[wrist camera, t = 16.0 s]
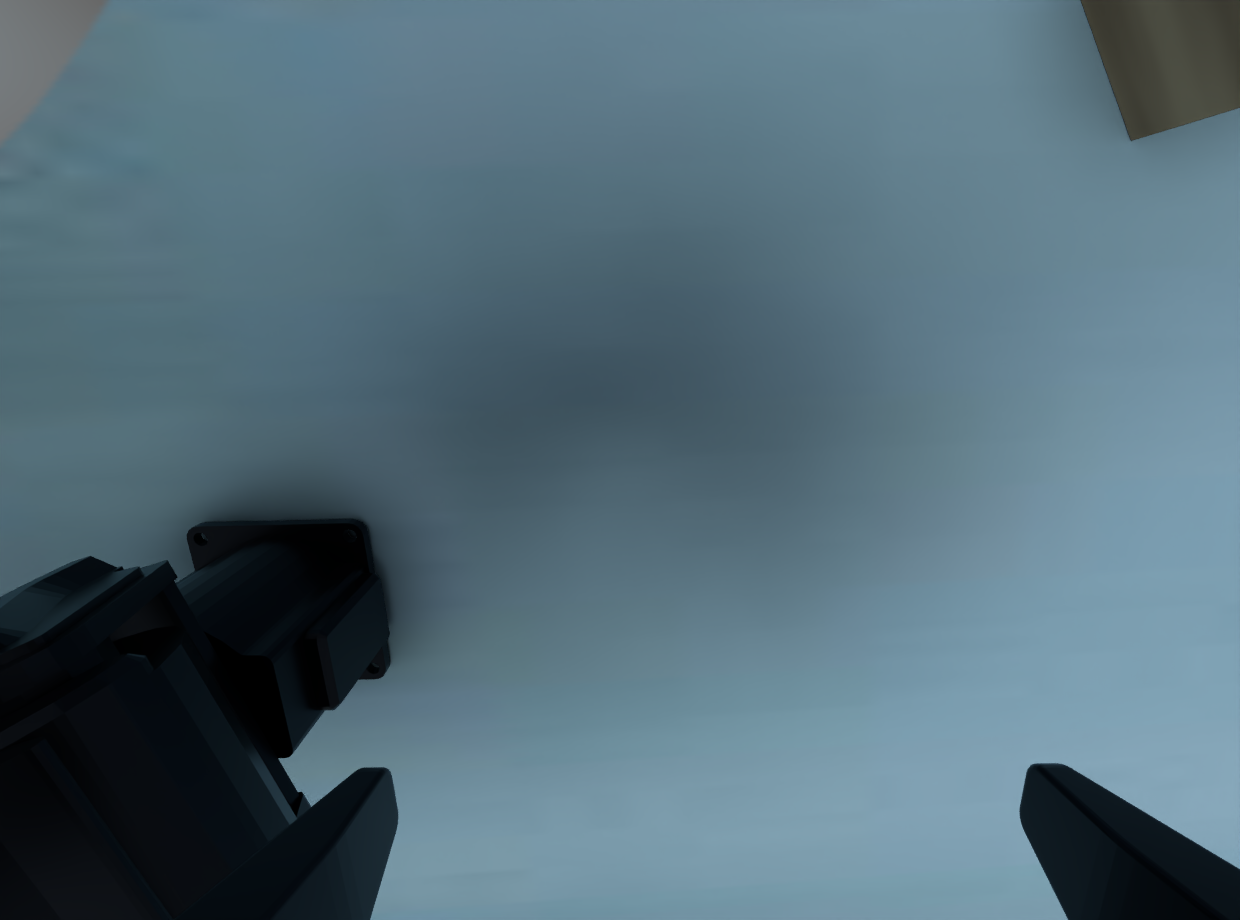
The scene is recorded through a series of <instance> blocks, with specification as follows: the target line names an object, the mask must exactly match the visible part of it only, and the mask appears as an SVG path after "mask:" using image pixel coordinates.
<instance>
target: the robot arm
mask: <svg viewBox="0 0 1240 920" xmlns="http://www.w3.org/2000/svg"><path fill="white" fill-rule="evenodd" d="M348 529H349V530H353V531H354V532H355V533H356V535H357V538H352V537H351V536H350V535H349V533H348ZM201 534H204V535H205V536H206V537H207V539H208V540H207V541H206V540H205V539H203V537H202V535H201ZM187 541H188V545H189V549H190V553H191V557H192V560H193V564H194V568H195V571H194V572H193V573H191V574H190V575H188V576H186V577H185V578H183V579H182V580H180V581H179V582H177V583H175V582H174V580H175V579H176V578H177V576H176V574H175V572H174V570H173V569H172V567H171V565H170V564H169V562H168V560H166V561H162V562H159V563H156V564H152V565H149V566H146V567H143V568H140V567H134V568H129V569H125V570H124V569H123V567H122V566H121V567H118V568H117V567H115V566H113V565H110V564H108V563H106V562H103V561H101V560H99V559H96V558H94V557H92V556H89V557H86V558H83V559H80V560H77V561H74V562H71V563H69V564H66V565H64V566H62V567H60V568H58V569H56V570H54V571H52V572H50V573H48V574H46V575H43V576H41V577H39V578H37V579H35V580H33V581H31V582H29V583H27V584H25V585H23V586H21V587H19V588H17V589H15V590H13V591H11V592H9V593H7V594H5V595H3V596H2V597H0V920H370V918H371V915H372V911H373V908H374V905H375V901H376V898H377V894H378V891H379V888H380V884H381V881H382V878H383V874H384V871H385V867H386V864H387V861H388V857H389V854H390V850H391V847H392V844H393V840H394V837H395V834H396V830H397V825H398V808H397V802H396V797H395V791H394V785H393V780H392V775H391V772H390V771H389V769H387V768H384V767H374V768H360V769H358V770H357V771H355V772H354V773H353V774H351V775H350V776H349V777H348V778H346V779H345V780H344V781H343V782H342V783H340V784H339V785H338V786H337V787H335V788H334V789H333V790H332V791H331V792H329V793H328V794H327V795H326V796H324V797H323V798H322V799H321V800H320V801H318V802H317V803H316V804H315V805H313V806H312V807H311V806H310V804H309V802H308V801H307V799H306V797H305V795H304V794H303V793H302V792H297V790H296V788H295V787H294V785H293V783H292V782H291V780H290V778H289V776H288V775H287V773H286V771H285V770H284V768H283V766H282V765H281V763H280V761H279V759H278V758H287V757H290V756H291V755H292V754H293V752H294V751H295V750H296V748H297V747H298V746H299V744H300V743H301V742H302V740H303V739H304V738H305V736H306V735H307V734H308V732H309V731H310V730H311V728H312V727H313V726H314V724H315V723H316V722H317V720H318V719H319V718H320V716H321V715H322V714H323V712H324V711H325V710H335V709H336V708H337V707H338V706H339V705H340V704H341V703H342V701H343V700H344V699H345V697H346V696H347V694H348V693H349V692H350V690H351V689H352V687H353V686H354V685H355V683H356V682H357V680H360V679H379V678H381V677H383V676H384V674H385V673H386V671H387V670H388V668H389V666H390V659H389V653H388V647H387V641H386V640H387V639H388V637H389V635H390V633H389V627H388V621H387V615H386V609H385V603H384V597H383V590H382V584H381V579H380V578H379V576H378V575H377V574H376V573H375V569H374V563H373V557H372V551H371V545H370V539H369V533H368V529H367V527H366V526H365V524H364V523H363V522H361V521H359V520H356V519H328V520H285V521H243V522H205V523H200V524H198V525H197V526H195V527H193V528H191V529H190V530H189V531H188V533H187ZM371 662H373V663H376V664H377V665H378V666H379V668H378V667H375V666H373V665H372V663H371ZM1020 819H1021V824H1022V827H1023V829H1024V831H1025V834H1026V836H1027V838H1028V840H1029V842H1030V844H1031V846H1032V848H1033V850H1034V852H1035V854H1036V856H1037V858H1038V860H1039V862H1040V864H1041V866H1042V868H1043V870H1044V872H1045V874H1046V876H1047V878H1048V880H1049V882H1050V884H1051V886H1052V888H1053V890H1054V892H1055V894H1056V896H1057V898H1058V900H1059V902H1060V904H1061V906H1062V908H1063V910H1064V912H1065V914H1066V916H1067V918H1068V920H1240V869H1238V868H1237V867H1235V866H1233V865H1232V864H1230V863H1228V862H1227V861H1225V860H1223V859H1222V858H1220V857H1218V856H1217V855H1215V854H1213V853H1212V852H1210V851H1208V850H1207V849H1205V848H1203V847H1202V846H1200V845H1198V844H1197V843H1195V842H1193V841H1192V840H1190V839H1188V838H1187V837H1185V836H1183V835H1182V834H1180V833H1178V832H1177V831H1175V830H1173V829H1172V828H1170V827H1168V826H1167V825H1165V824H1163V823H1162V822H1160V821H1158V820H1157V819H1155V818H1153V817H1152V816H1150V815H1148V814H1147V813H1145V812H1143V811H1142V810H1140V809H1138V808H1137V807H1135V806H1133V805H1132V804H1130V803H1128V802H1127V801H1125V800H1123V799H1122V798H1120V797H1118V796H1117V795H1115V794H1113V793H1112V792H1110V791H1108V790H1107V789H1105V788H1103V787H1102V786H1100V785H1098V784H1097V783H1095V782H1093V781H1092V780H1090V779H1088V778H1087V777H1085V776H1083V775H1082V774H1080V773H1078V772H1077V771H1075V770H1073V769H1072V768H1070V767H1068V766H1066V765H1063V764H1058V763H1037V764H1032V765H1031V766H1030V767H1029V768H1028V770H1027V773H1026V778H1025V783H1024V788H1023V794H1022V799H1021V804H1020Z"/></svg>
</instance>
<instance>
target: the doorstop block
mask: <svg viewBox="0 0 1240 920" xmlns="http://www.w3.org/2000/svg"><path fill="white" fill-rule="evenodd" d="M1081 2H1082V5H1083V8H1084V10H1085V13H1086V16H1087V19H1088V22H1089V24H1090V27H1091V30H1092V33H1093V36H1094V38H1095V41H1096V44H1097V47H1098V50H1099V52H1100V55H1101V58H1102V61H1103V64H1104V66H1105V69H1106V72H1107V75H1108V77H1109V80H1110V83H1111V86H1112V89H1113V91H1114V94H1115V97H1116V100H1117V103H1118V105H1119V108H1120V111H1121V114H1122V117H1123V119H1124V122H1125V125H1126V128H1127V131H1128V133H1129V136H1130V139H1131V141H1133V140H1136V139H1139V138H1142V137H1146V136H1149V135H1152V134H1155V133H1159V132H1162V131H1165V130H1168V129H1172V128H1175V127H1178V126H1182V125H1185V124H1188V123H1191V122H1195V121H1198V120H1201V119H1204V118H1208V117H1211V116H1214V115H1217V114H1221V113H1224V112H1227V111H1231V110H1234V109H1237V108H1240V0H1081Z"/></svg>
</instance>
